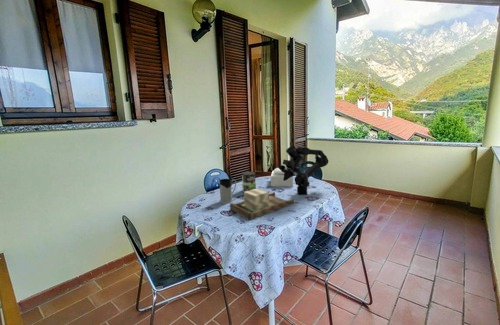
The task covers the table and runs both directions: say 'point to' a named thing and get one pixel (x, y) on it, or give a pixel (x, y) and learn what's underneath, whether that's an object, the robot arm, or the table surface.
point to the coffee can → (248, 181)
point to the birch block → (256, 199)
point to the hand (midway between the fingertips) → (283, 180)
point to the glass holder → (226, 190)
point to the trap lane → (249, 213)
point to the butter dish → (280, 178)
